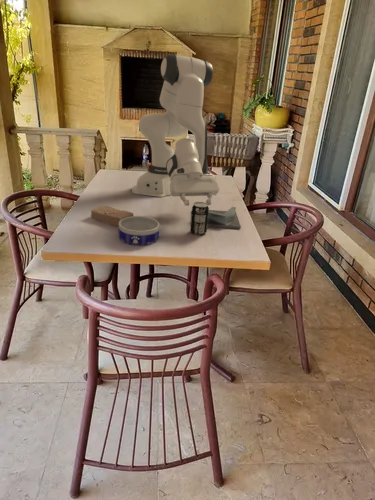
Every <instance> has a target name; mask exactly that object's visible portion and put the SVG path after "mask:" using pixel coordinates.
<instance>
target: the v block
mask: <svg viewBox="0 0 375 500" xmlns="http://www.w3.org/2000/svg"><path fill="white" fill-rule="evenodd" d="M236 210H237V207H235V206H231V208H229V209H228V210H217V209H216V210H214V209H209V213H208V223H207V228H216V229H217V228H218V229H219V228H220V229H236V230H240V229H241V228H242V226H241V223H240V220H239V218H238V214H237V211H236ZM241 230H242V229H241Z"/></svg>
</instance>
